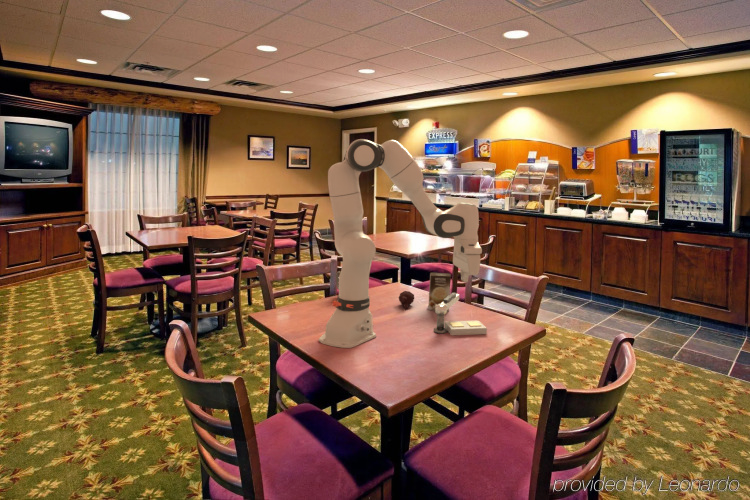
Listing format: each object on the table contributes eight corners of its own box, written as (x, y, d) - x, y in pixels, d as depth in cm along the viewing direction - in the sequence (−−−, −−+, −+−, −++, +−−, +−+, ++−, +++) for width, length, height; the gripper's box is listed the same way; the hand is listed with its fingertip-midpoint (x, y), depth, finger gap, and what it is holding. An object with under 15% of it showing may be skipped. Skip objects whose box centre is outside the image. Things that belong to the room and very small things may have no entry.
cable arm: (444, 314, 167) (445, 305, 167) (433, 313, 169) (433, 303, 169) (461, 300, 187) (461, 291, 186) (451, 299, 189) (451, 290, 188)
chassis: (451, 335, 168) (451, 328, 167) (444, 327, 176) (444, 320, 176) (486, 334, 170) (486, 327, 169) (478, 326, 178) (478, 319, 178)
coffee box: (428, 310, 198) (429, 275, 195) (428, 306, 204) (429, 272, 202) (449, 311, 197) (450, 276, 195) (448, 307, 204) (450, 273, 201)
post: (444, 334, 168) (445, 315, 167) (431, 332, 171) (432, 313, 169) (448, 330, 173) (449, 312, 171) (436, 328, 175) (436, 310, 174)
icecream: (399, 287, 213) (394, 298, 199) (414, 284, 211) (410, 295, 197) (402, 300, 214) (398, 312, 200) (417, 298, 212) (414, 309, 198)
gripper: (449, 241, 177) (448, 275, 179) (466, 250, 157) (465, 288, 159) (464, 241, 178) (463, 275, 180) (483, 250, 158) (482, 287, 160)
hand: (464, 281), depth 169 cm, fingers closed
